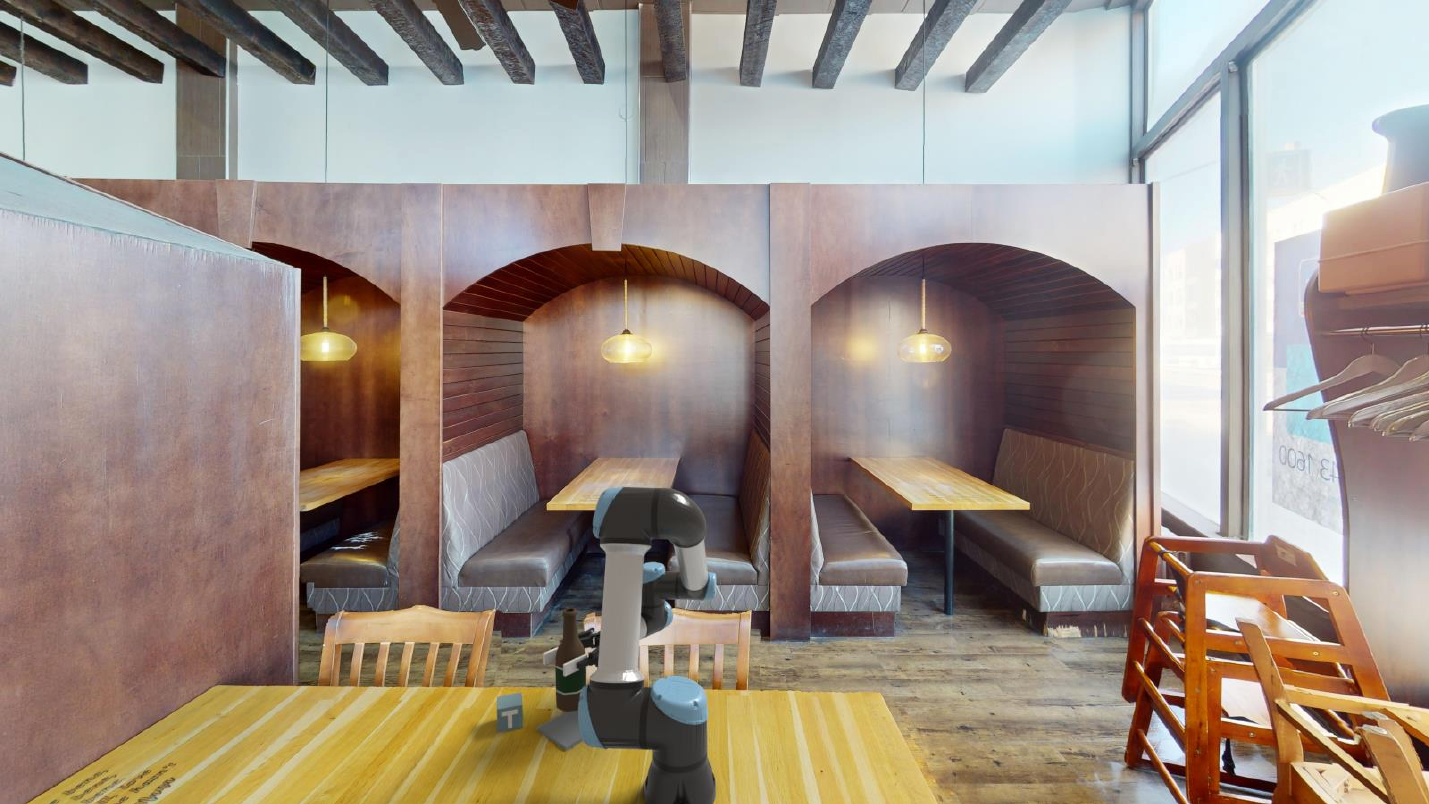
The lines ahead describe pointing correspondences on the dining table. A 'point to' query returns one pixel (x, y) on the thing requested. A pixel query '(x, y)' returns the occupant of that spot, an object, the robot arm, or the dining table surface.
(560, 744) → the mat
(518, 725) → the letter block
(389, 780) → the dining table surface
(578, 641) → the beer bottle
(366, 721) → the dining table surface
